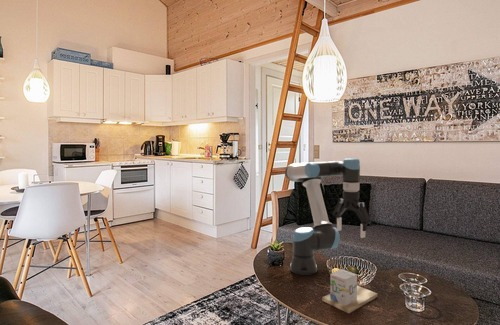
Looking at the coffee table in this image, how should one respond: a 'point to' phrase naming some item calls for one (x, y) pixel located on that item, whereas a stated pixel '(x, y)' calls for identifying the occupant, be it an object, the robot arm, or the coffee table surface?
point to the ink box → (343, 286)
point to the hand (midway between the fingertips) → (350, 233)
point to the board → (362, 298)
